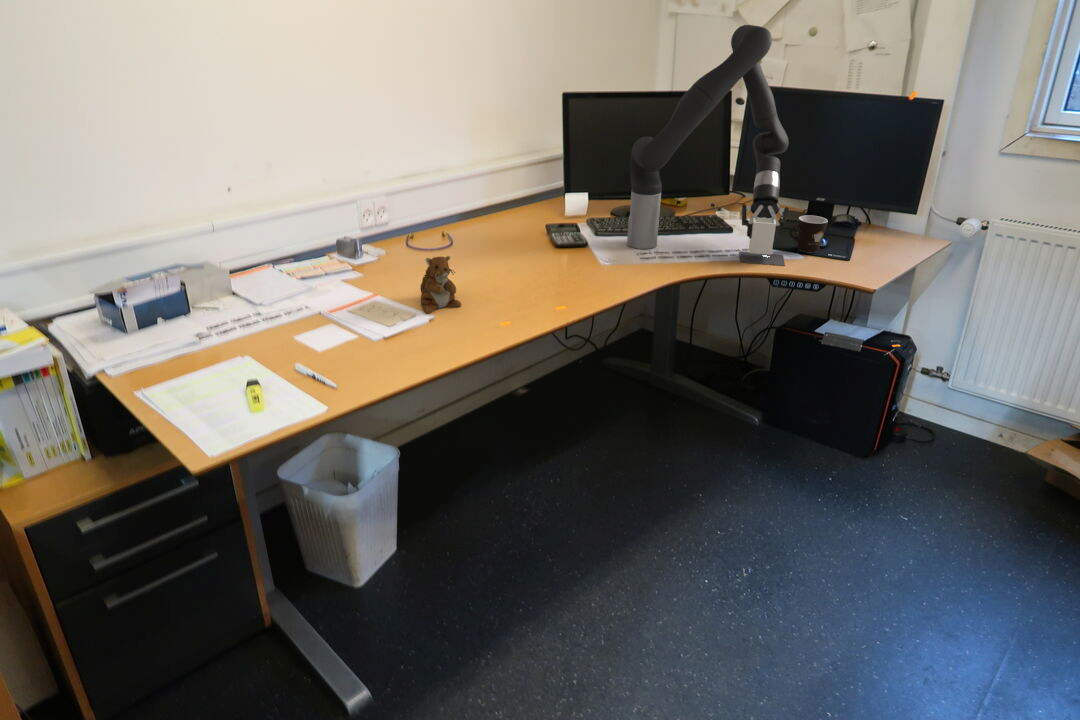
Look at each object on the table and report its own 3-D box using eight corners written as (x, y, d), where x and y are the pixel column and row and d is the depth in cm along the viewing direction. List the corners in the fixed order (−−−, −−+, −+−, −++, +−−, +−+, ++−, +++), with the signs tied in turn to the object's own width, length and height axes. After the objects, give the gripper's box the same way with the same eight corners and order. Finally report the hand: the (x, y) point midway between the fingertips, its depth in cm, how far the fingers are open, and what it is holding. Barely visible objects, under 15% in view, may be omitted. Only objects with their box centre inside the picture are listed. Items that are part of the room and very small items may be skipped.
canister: (749, 252, 224) (753, 222, 220) (749, 246, 230) (753, 216, 226) (771, 254, 223) (776, 223, 219) (770, 247, 229) (775, 217, 224)
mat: (740, 262, 224) (740, 261, 224) (739, 251, 233) (739, 251, 233) (784, 266, 222) (785, 265, 222) (782, 255, 231) (783, 254, 230)
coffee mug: (818, 246, 239) (824, 216, 234) (824, 255, 231) (831, 223, 227) (781, 244, 240) (786, 214, 235) (786, 253, 232) (791, 222, 228)
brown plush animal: (426, 315, 187) (423, 266, 181) (411, 296, 198) (407, 248, 192) (464, 309, 190) (462, 260, 184) (446, 290, 202) (444, 244, 196)
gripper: (743, 181, 226) (738, 230, 221) (792, 184, 223) (789, 234, 218) (741, 194, 233) (736, 242, 228) (788, 197, 230) (785, 245, 225)
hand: (762, 238), depth 223 cm, fingers closed on canister, 6 cm apart
